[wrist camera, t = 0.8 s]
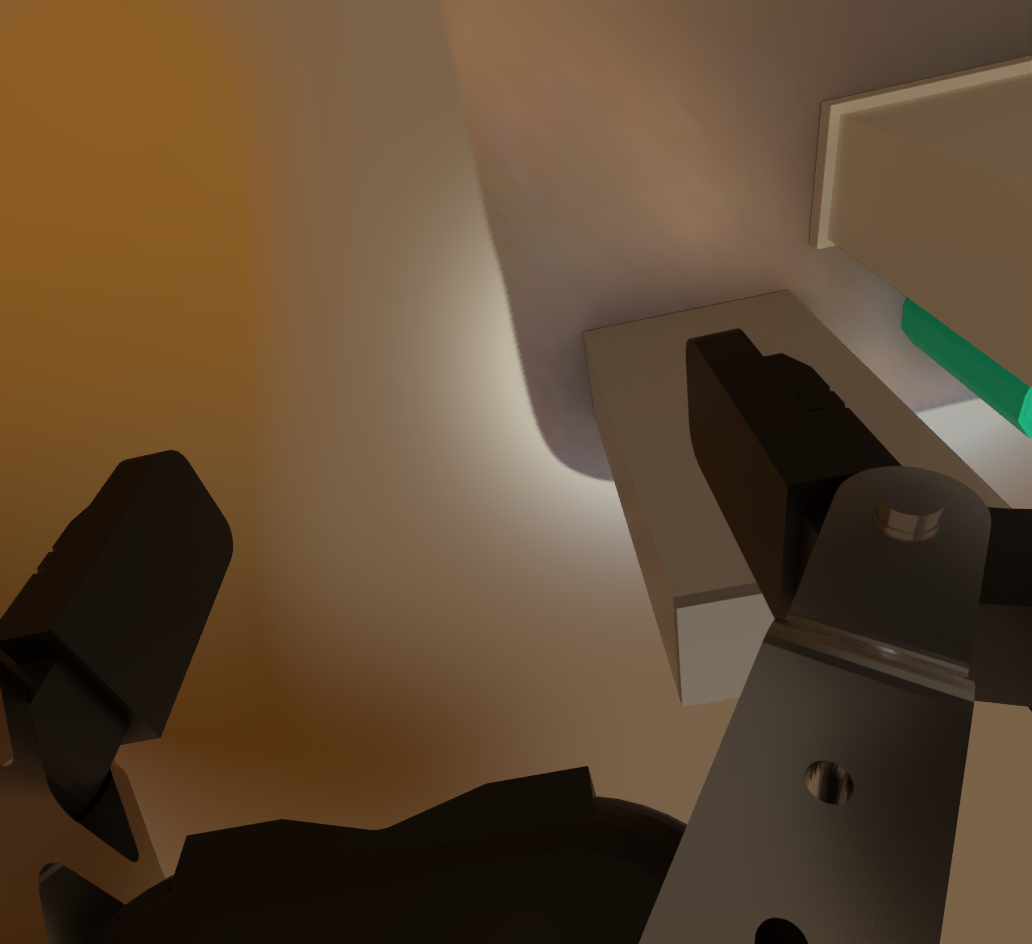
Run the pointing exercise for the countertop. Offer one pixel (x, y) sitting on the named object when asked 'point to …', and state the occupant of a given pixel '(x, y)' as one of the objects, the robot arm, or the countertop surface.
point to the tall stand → (939, 198)
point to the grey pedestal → (685, 492)
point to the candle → (970, 366)
